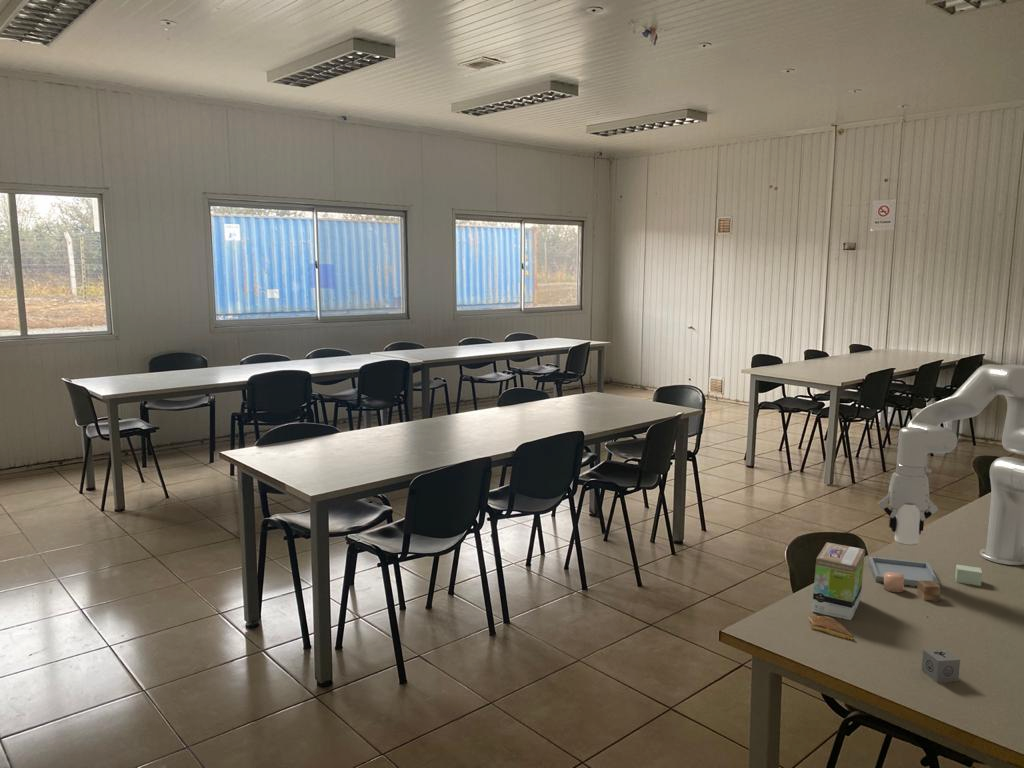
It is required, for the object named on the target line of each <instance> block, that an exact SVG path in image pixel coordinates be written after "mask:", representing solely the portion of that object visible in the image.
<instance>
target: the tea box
mask: <svg viewBox="0 0 1024 768" xmlns="http://www.w3.org/2000/svg"><path fill="white" fill-rule="evenodd" d="M865 555H866V550H865V549H864V548H860V547H855V546H849V545H845V544H843V545H842V544H837V543H832V542H826V543H825V544H824V546H823V548H822V549H821V551H820V552H819V554H818V555H817V557H816V560H815V561H816V562H815V568H814V569H815V570H814V571H815V572H814V581H813V582H814V584H813V595H812V602H811V603H812V605H811V612H813V613H818V614H821V615H824V616H828V617H832V618H837V619H842V618H843V620H847V621H852V619H853V617H854V615H855V613H856V610H857V609H858V606H859V605H860V601H861V598H862V586H863V577H864V576H863V575H864V565H865Z"/></svg>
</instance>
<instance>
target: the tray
mask: <svg viewBox="0 0 1024 768" xmlns="http://www.w3.org/2000/svg"><path fill="white" fill-rule="evenodd" d="M868 564H869V567H870V569H871V572H872V575H873V577H874V580H875V583H883V584H884V573H886V572H896V573H900V574H903V575H904V586H906V585H910V586H909V587H915V586H917V588H918V581H934V582H935V583H936V584H938V585H939V586H940V585H941V584H940V581H939V580H938V577H937V575H936V574H935V572H934V571H933V568H932V567H931V565H930V564H929V562H923V561H915V560H914V561H913V560H905V559H896V558H886V557H877V556H868ZM940 587H941V586H940Z"/></svg>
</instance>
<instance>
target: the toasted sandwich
mask: <svg viewBox="0 0 1024 768" xmlns="http://www.w3.org/2000/svg"><path fill="white" fill-rule="evenodd" d="M808 620H809V622H811V625H810V627H811V630H816V631H819V632H823V633H826V634H829V635H832V636H835V635H836V637H838V636H839V638H841V637H843V638H842V639H845V638H848V639H847V640H849V639H851V640H850V641H853V640H854V638H855V636H854V635H853V634H851V633H850V632H849V631H848V630H847V629H846V627H845V626H844V625H843V624H842V623H841V622H840V621H839V620H838V619H836V617H832V616H827V615H824V616H823V615H821V616H816V615H815V616H812V615H811V616H808Z"/></svg>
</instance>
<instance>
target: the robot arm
mask: <svg viewBox="0 0 1024 768" xmlns="http://www.w3.org/2000/svg"><path fill="white" fill-rule="evenodd" d="M999 395H1001V396H1004V397H1005V400H1006V403H1007V404H1006V405H1007V408H1006V415H1005V421H1004V426H1003V430H1002V432H1003V433H1002V438H1001V445H1002V447H1003V449H1004V450H1005V451H1007V452H1009V453H1013V454H1017V455H1021V456H1024V365H1023V364H1011V363H1007V364H993V363H991V364H990V363H989V364H983V365H980V366H979V367H978V368H976V370H975V371H974V372H973V373H972V374H971V375H970V376H969V377H968V378H967V380H965V382H964V383H962V385H961V386H960V387H958V388H957V390H956V391H955V392H954V393H953V394H952V395H950V396H948V397H945V398H943V399H941V400H938V401H936V402H934V403H932V404H930V405H927V406H926V407H924V408H922V409H921V410H919V411H918V413H916V415H914V417H912V419H910V421H909V422H908V423H907V425H906V426H904V427H902V428H900V429H899V430H898V432H899V433H898V441H897V453H896V454H897V455H896V468H895V472H892V474H891V478H890V481H889V486H888V493H887V495H886V496H884V497H883V498H882V499H881V500H879V501H878V502H877V503H878V506H879V507H880V508H881V509H882V510H883V511H884V512H885V513H886V514H887V515H888V516H889V523H888V526H889V528H890V530H891V531H892V532H894V533H895V531H896V518H895V515H896V513H897V511H898V509H900V508H901V507H902V506H903V505H904V504H916V505H915V506H916V507H917V508H918V509H919V511H920V524H919V534H920V535H921V534H922V532H923V531H924V525H925V521H926V520H927V519H928V518H930V517H931V516H932V515H933V514H935V513H937V512H938V511H939V508H938V506H937V505H935V503H933V501H932V500H931V499H930V486H929V484H930V483H929V477H928V476H927V475H928V474H930V473H932V471H933V470H932V468H931V467H928V466H927V463H928V461H927V460H928V454H941V455H943V454H948V453H950V452H952V451H954V450H955V448H956V447H957V445H958V437H957V435H956V433H955V431H953V430H952V429H949V428H947V427H943V426H939V425H941V424H943V423H947V422H952V421H956V420H965V419H969V418H973V417H974V418H975V417H977V416H978V415H980V413H982V411H984V409H985V408H986V407H987V406H988V405H989V404H990V402H992V400H993V399H994V398H996V396H999ZM989 479H990V489H991V492H990V493H991V495H990V505H989V506H990V508H989V517H988V518H989V519H988V527H987V536H986V537H987V539H986V546H985V547H984V548H981V549H980V550H979V554H980V556H981V557H982V558H984V559H985V560H988V561H990V562H994V563H997V564H1001V565H1006V566H1007V565H1008V566H1024V459H1022V458H1017V457H1013V456H1002V457H997V458H996V459H995V460H994V461H993V462H992V463H991V464H990V467H989ZM886 504H889V507H890V508H889V507H888V506H887V505H886ZM929 507H930V508H929Z"/></svg>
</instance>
